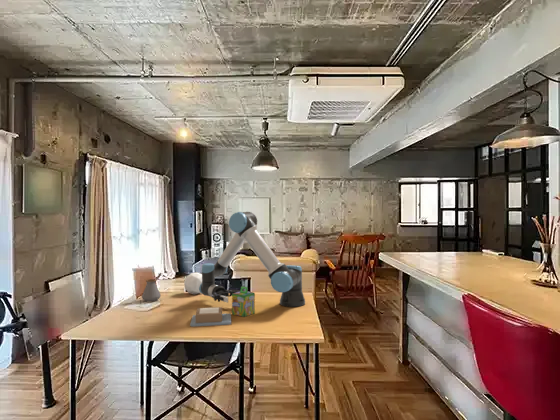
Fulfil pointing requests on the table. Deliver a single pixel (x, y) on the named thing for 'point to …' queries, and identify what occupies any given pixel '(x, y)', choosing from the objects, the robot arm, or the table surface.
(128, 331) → the table surface
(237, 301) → the chalk box
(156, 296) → the coffee pot
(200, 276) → the geometric shape
